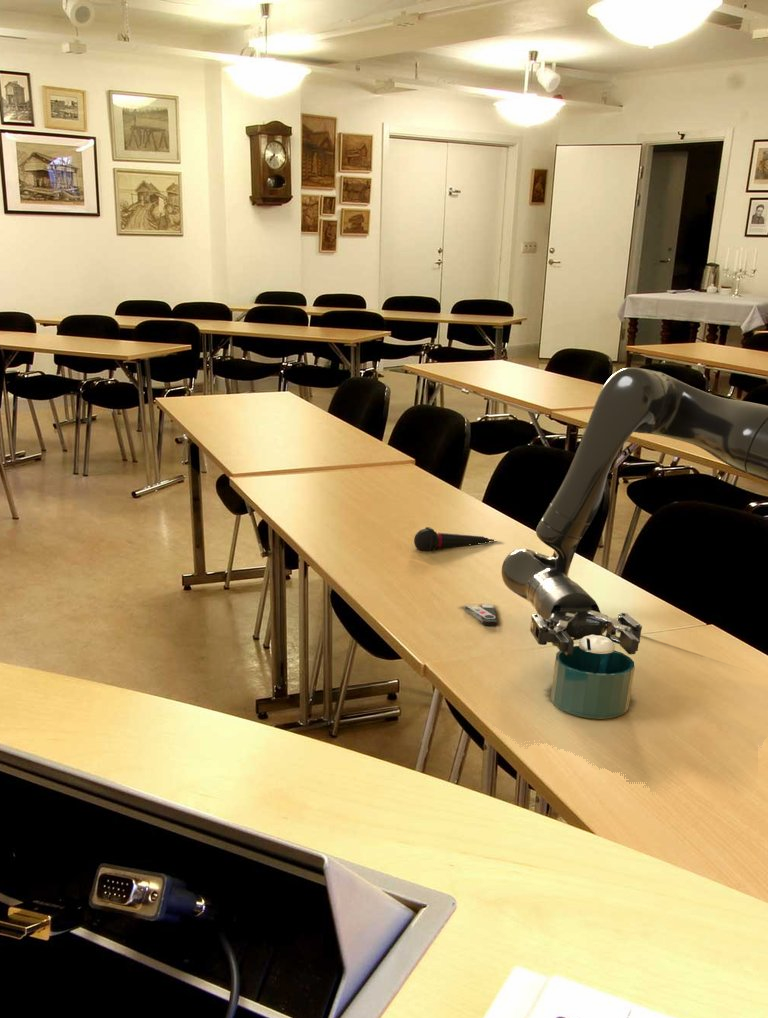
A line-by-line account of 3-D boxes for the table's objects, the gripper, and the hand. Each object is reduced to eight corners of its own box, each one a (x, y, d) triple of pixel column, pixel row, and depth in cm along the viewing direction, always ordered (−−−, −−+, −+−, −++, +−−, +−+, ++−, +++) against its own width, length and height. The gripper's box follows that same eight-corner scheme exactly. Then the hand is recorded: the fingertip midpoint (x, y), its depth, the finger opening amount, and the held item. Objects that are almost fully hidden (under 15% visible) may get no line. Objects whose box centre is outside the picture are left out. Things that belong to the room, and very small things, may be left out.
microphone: (492, 555, 202) (409, 554, 197) (492, 529, 202) (410, 527, 197) (505, 554, 197) (421, 553, 192) (506, 528, 196) (421, 526, 191)
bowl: (581, 680, 134) (586, 640, 132) (643, 705, 126) (650, 662, 124) (535, 698, 129) (540, 657, 127) (597, 725, 121) (603, 681, 119)
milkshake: (564, 699, 127) (571, 634, 124) (582, 687, 131) (590, 622, 127) (595, 709, 124) (604, 643, 121) (612, 696, 128) (622, 631, 124)
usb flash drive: (496, 626, 155) (497, 621, 154) (465, 625, 156) (465, 620, 155) (494, 608, 162) (494, 603, 162) (464, 607, 163) (464, 602, 163)
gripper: (519, 584, 136) (552, 623, 121) (615, 582, 136) (660, 621, 121) (515, 631, 139) (546, 674, 124) (609, 629, 139) (651, 673, 124)
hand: (602, 648), depth 122 cm, fingers open, 8 cm apart
